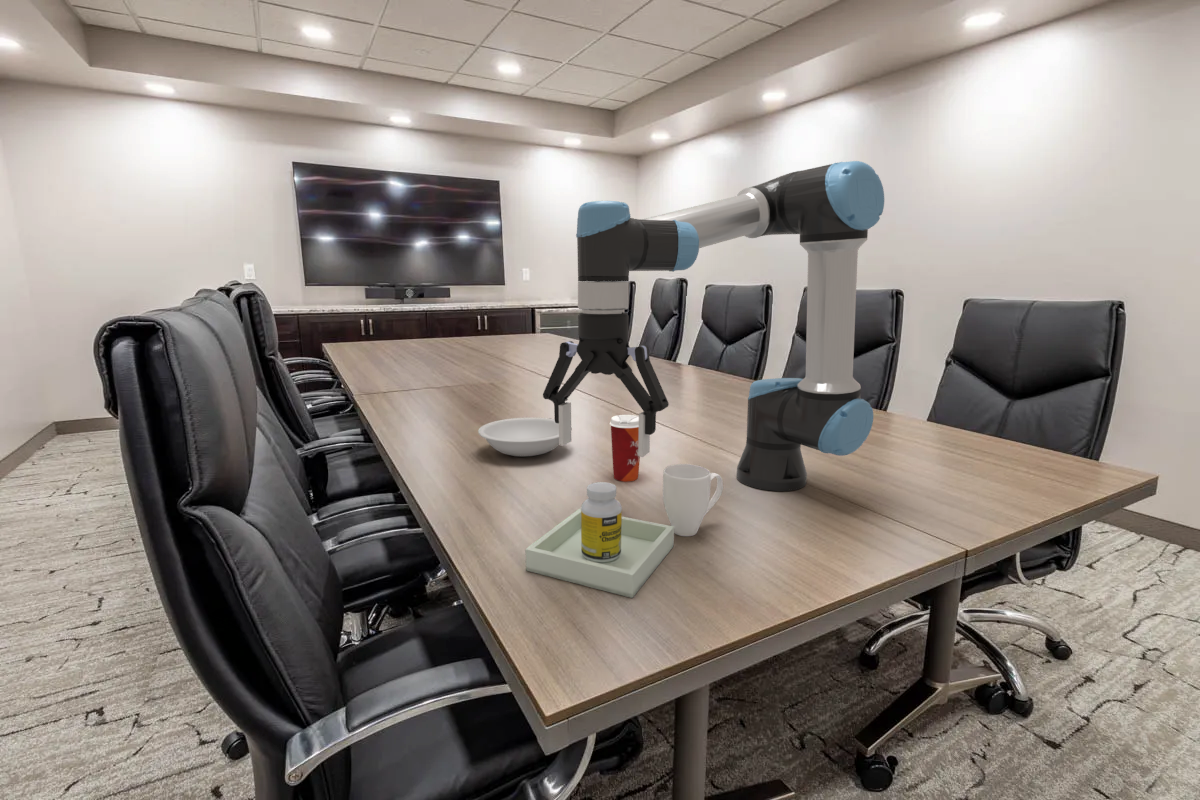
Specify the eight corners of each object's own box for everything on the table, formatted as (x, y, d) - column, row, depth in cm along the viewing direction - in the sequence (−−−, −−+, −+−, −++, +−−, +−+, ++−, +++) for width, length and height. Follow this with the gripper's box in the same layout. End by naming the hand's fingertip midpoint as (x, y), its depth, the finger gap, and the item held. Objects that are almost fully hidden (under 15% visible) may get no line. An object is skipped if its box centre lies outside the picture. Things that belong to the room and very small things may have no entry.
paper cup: (640, 484, 127) (641, 423, 124) (606, 482, 128) (606, 421, 125) (644, 472, 134) (645, 414, 131) (612, 470, 136) (612, 413, 133)
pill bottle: (592, 567, 89) (592, 497, 87) (574, 550, 95) (574, 484, 92) (628, 558, 92) (629, 490, 90) (609, 542, 98) (609, 477, 95)
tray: (673, 546, 98) (674, 526, 97) (632, 598, 82) (632, 575, 81) (580, 526, 106) (579, 508, 105) (525, 570, 90) (525, 549, 89)
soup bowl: (589, 456, 147) (589, 431, 146) (503, 474, 134) (502, 447, 132) (544, 435, 166) (543, 413, 165) (465, 449, 153) (463, 425, 152)
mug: (679, 545, 98) (681, 482, 96) (652, 527, 105) (654, 467, 103) (734, 531, 103) (737, 471, 101) (705, 514, 111) (708, 458, 108)
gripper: (692, 312, 83) (687, 452, 88) (544, 308, 94) (547, 433, 99) (675, 315, 77) (671, 466, 81) (518, 310, 87) (522, 444, 92)
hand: (603, 448), depth 90 cm, fingers open, 13 cm apart
